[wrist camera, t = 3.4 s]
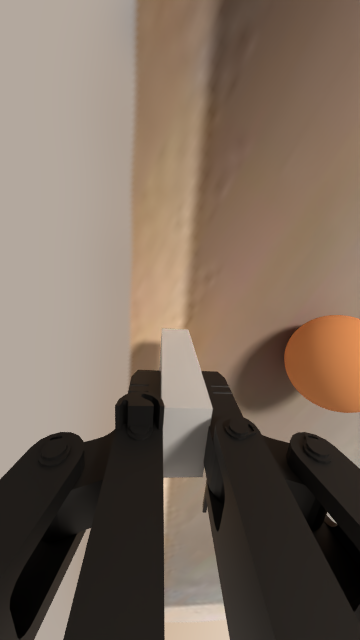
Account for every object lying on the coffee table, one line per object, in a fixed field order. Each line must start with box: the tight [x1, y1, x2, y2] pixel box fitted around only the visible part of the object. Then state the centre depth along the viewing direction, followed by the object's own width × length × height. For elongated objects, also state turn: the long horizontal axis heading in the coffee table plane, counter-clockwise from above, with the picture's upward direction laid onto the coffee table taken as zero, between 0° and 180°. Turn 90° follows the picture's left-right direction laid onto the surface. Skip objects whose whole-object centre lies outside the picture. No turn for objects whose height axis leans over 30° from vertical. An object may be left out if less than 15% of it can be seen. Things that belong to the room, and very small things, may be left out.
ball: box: [284, 315, 360, 413], centre depth 13 cm, size 6×6×6 cm
